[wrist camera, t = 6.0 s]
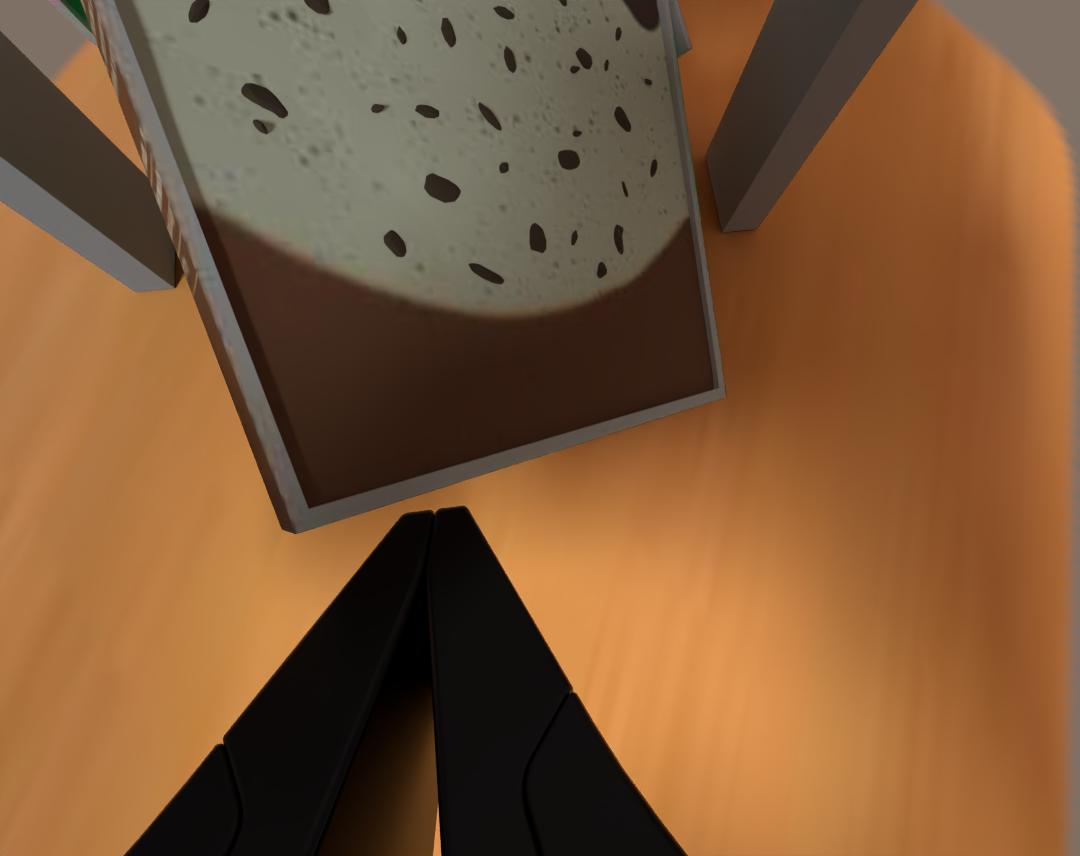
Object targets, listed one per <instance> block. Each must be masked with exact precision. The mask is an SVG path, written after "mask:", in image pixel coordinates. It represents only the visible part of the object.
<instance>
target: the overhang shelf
mask: <svg viewBox="0 0 1080 856" xmlns="http://www.w3.org/2000/svg"><path fill="white" fill-rule="evenodd" d="M917 1H918V0H775V1H774V3H773V5H772V8H771V10H770V12H769V14H768V17H767V19H766V21H765V23H764V26H763V28H762V30H761V32H760V35H759V37H758V39H757V41H756V44H755V46H754V48H753V50H752V52H751V55H750V57H749V59H748V61H747V64H746V66H745V68H744V70H743V73H742V75H741V77H740V79H739V82H738V84H737V86H736V88H735V91H734V93H733V95H732V97H731V100H730V102H729V104H728V106H727V109H726V111H725V113H724V115H723V118H722V120H721V122H720V124H719V126H718V129H717V131H716V133H715V135H714V138H713V140H712V142H711V144H710V147H709V149H708V151H707V153H706V160H707V165H708V169H709V174H710V178H711V183H712V188H713V192H714V197H715V201H716V206H717V210H718V215H719V220H720V224H721V229H722V233H723V232H732V231H742V230H752V229H757V228H758V227H759V225H760V224H761V223H762V221H763V220H764V218H765V217H766V216H767V214H768V213H769V211H770V210H771V208H772V207H773V206H774V204H775V203H776V201H777V200H778V199H779V197H780V196H781V194H782V193H783V191H784V190H785V189H786V187H787V186H788V184H789V183H790V181H791V180H792V179H793V177H794V176H795V174H796V173H797V172H798V170H799V169H800V167H801V166H802V164H803V163H804V162H805V160H806V159H807V157H808V156H809V154H810V153H811V152H812V150H813V149H814V147H815V146H816V145H817V143H818V142H819V140H820V139H821V137H822V136H823V135H824V133H825V132H826V130H827V129H828V128H829V126H830V125H831V123H832V122H833V120H834V119H835V118H836V116H837V115H838V113H839V112H840V110H841V109H842V108H843V106H844V105H845V103H846V102H847V101H848V99H849V98H850V96H851V95H852V93H853V92H854V91H855V89H856V88H857V86H858V85H859V83H860V82H861V81H862V79H863V78H864V76H865V75H866V74H867V72H868V71H869V69H870V68H871V66H872V65H873V64H874V62H875V61H876V59H877V58H878V56H879V55H880V54H881V52H882V51H883V49H884V48H885V47H886V45H887V44H888V42H889V41H890V39H891V38H892V37H893V35H894V34H895V32H896V31H897V30H898V28H899V27H900V25H901V24H902V22H903V21H904V20H905V18H906V17H907V15H908V14H909V12H910V11H911V10H912V8H913V7H914V5H915V4H916V3H917ZM0 201H1V202H3V203H4V204H6V205H7V206H9V207H10V208H11V209H13V210H14V211H16V212H17V213H19V214H20V215H22V216H23V217H25V218H26V219H28V220H29V221H31V222H32V223H34V224H35V225H37V226H38V227H40V228H41V229H43V230H44V231H46V232H47V233H49V234H50V235H52V236H53V237H55V238H56V239H58V240H59V241H61V242H62V243H64V244H65V245H66V246H68V247H69V248H71V249H72V250H74V251H75V252H77V253H78V254H80V255H81V256H83V257H84V258H86V259H87V260H89V261H90V262H92V263H93V264H95V265H96V266H98V267H99V268H101V269H102V270H104V271H105V272H107V273H108V274H110V275H111V276H113V277H114V278H116V279H117V280H119V281H120V282H122V283H123V284H124V285H126V286H127V287H129V288H130V289H132V290H133V291H135V292H143V291H153V290H163V289H172V288H174V283H175V247H174V245H173V242H172V239H171V237H170V234H169V232H168V229H167V226H166V224H165V221H164V218H163V216H162V213H161V211H160V208H159V205H158V203H157V200H156V197H155V195H154V192H153V190H152V187H151V184H150V182H149V179H148V177H147V176H146V175H145V174H144V173H143V172H142V171H141V170H140V169H139V168H138V167H137V166H136V165H134V164H133V163H132V162H131V161H130V160H129V159H128V158H127V157H126V156H125V155H124V154H123V153H122V152H121V151H120V150H119V149H118V148H117V147H116V146H115V145H114V144H113V143H112V142H111V141H110V140H109V139H108V138H107V137H106V136H105V135H104V134H103V133H102V132H101V131H100V130H99V129H98V128H97V127H96V126H95V125H94V124H93V123H92V122H91V121H90V120H89V119H88V118H87V117H86V116H85V115H84V114H83V113H82V112H81V111H80V110H79V109H78V108H77V107H76V106H75V105H74V104H73V103H72V102H71V101H70V100H69V99H68V98H67V97H66V96H65V95H64V94H63V93H62V92H61V91H60V90H59V89H58V88H57V87H56V86H55V85H54V84H53V83H52V82H51V81H50V80H49V79H48V78H47V77H46V76H45V75H44V74H43V73H42V72H41V71H40V70H39V69H38V68H37V67H36V66H35V65H34V64H33V63H32V62H31V61H30V60H29V59H28V58H27V57H26V56H25V55H24V54H23V53H22V52H21V51H20V50H19V49H18V48H17V47H16V46H15V45H14V44H13V43H12V42H11V41H10V40H9V39H8V38H7V37H6V36H5V35H4V34H3V33H2V32H1V31H0Z"/></svg>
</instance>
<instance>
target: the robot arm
mask: <svg viewBox="0 0 1080 856" xmlns="http://www.w3.org/2000/svg"><path fill="white" fill-rule="evenodd" d="M223 743H224V744H217V745H216V746H215V747H214V748H213V750H212V751H211V752H210V753H209V755H208V756H207V757H206V758H205V759H204V761H203V762H202V763H201V764H200V766H199V767H198V768H197V769H196V771H195V772H194V773H193V774H192V776H191V777H190V778H189V779H188V780H187V782H186V783H185V784H184V785H183V786H182V788H181V789H180V790H179V791H178V792H177V794H176V795H175V796H174V797H173V798H172V800H171V801H170V802H169V803H168V804H167V805H166V807H165V808H164V809H163V810H162V811H161V813H160V814H159V815H158V816H157V817H156V819H155V820H154V821H153V822H152V823H151V825H150V826H149V827H148V828H147V829H146V830H145V832H144V833H143V834H142V835H141V836H140V838H139V839H138V840H137V841H136V842H135V843H134V844H133V846H132V847H131V848H130V849H129V850H128V851H127V852H126V853H125V855H124V856H433V849H434V839H435V829H436V818H437V808H438V806H439V823H440V840H441V856H688V855H687V854H686V853H685V851H684V850H683V849H682V847H681V846H680V845H679V844H678V842H677V841H676V840H675V838H674V837H673V836H672V834H671V833H670V832H669V831H668V829H667V828H666V827H665V825H664V824H663V823H662V822H661V820H660V819H659V817H658V816H657V815H656V813H655V812H654V811H653V809H652V808H651V806H650V805H649V804H648V802H647V801H646V799H645V798H644V797H643V795H642V794H641V793H640V791H639V790H638V788H637V787H636V786H635V784H634V783H633V781H632V780H631V779H630V777H629V776H628V775H627V773H626V772H625V770H624V769H623V768H622V766H621V764H620V763H619V761H618V760H617V758H616V757H615V755H614V753H613V752H612V750H611V749H610V747H609V746H608V744H607V742H606V741H605V739H604V738H603V736H602V734H601V733H600V731H599V730H598V728H597V727H596V725H595V723H594V722H593V720H592V718H591V717H590V715H589V713H588V712H587V710H586V708H585V707H584V705H583V703H582V701H581V700H580V698H579V696H578V695H577V693H575V692H573V687H572V685H571V683H570V682H569V680H568V678H567V677H566V675H565V673H564V672H563V670H562V668H561V666H560V665H559V663H558V661H557V660H556V658H555V656H554V654H553V653H552V651H551V649H550V648H549V646H548V644H547V643H546V641H545V639H544V637H543V636H542V634H541V632H540V631H539V629H538V627H537V625H536V624H535V622H534V620H533V619H532V617H531V615H530V614H529V612H528V610H527V608H526V607H525V605H524V603H523V602H522V600H521V598H520V596H519V595H518V593H517V591H516V590H515V588H514V586H513V584H512V583H511V581H510V579H509V578H508V576H507V574H506V573H505V571H504V569H503V567H502V566H501V564H500V562H499V561H498V559H497V557H496V555H495V554H494V552H493V550H492V549H491V547H490V545H489V544H488V542H487V540H486V538H485V537H484V535H483V533H482V532H481V530H480V528H479V526H478V525H477V523H476V521H475V520H474V518H473V516H472V515H471V513H470V511H469V510H468V508H467V507H465V506H458V507H450V508H442V509H439V510H438V511H436V513H434V511H432V510H426V511H418V512H410V513H406V514H404V515H402V516H401V517H400V518H399V520H398V521H397V522H396V523H395V525H394V526H393V527H392V528H391V529H390V531H389V532H388V533H387V534H386V536H385V537H384V538H383V539H382V541H381V542H380V543H379V544H378V546H377V547H376V548H375V549H374V551H373V552H372V553H371V554H370V556H369V557H368V558H367V559H366V560H365V562H364V563H363V564H362V565H361V567H360V568H359V569H358V570H357V572H356V573H355V574H354V575H353V577H352V578H351V579H350V580H349V582H348V583H347V584H346V585H345V586H344V588H343V589H342V590H341V591H340V593H339V594H338V595H337V596H336V598H335V599H334V600H333V601H332V603H331V604H330V605H329V606H328V608H327V609H326V610H325V611H324V612H323V614H322V615H321V616H320V617H319V619H318V620H317V621H316V622H315V624H314V625H313V626H312V627H311V629H310V630H309V631H308V632H307V634H306V635H305V636H304V637H303V639H302V640H301V641H300V642H299V643H298V645H297V646H296V647H295V648H294V650H293V651H292V652H291V653H290V655H289V656H288V657H287V658H286V660H285V661H284V662H283V663H282V665H281V666H280V667H279V668H278V669H277V671H276V672H275V673H274V674H273V676H272V677H271V678H270V679H269V681H268V682H267V683H266V684H265V686H264V687H263V688H262V689H261V691H260V692H259V693H258V694H257V695H256V697H255V698H254V699H253V700H252V702H251V703H250V704H249V705H248V707H247V708H246V709H245V710H244V712H243V713H242V714H241V715H240V717H239V718H238V719H237V720H236V722H235V723H234V724H233V725H232V726H231V728H230V729H229V730H228V731H227V733H226V734H225V735H224V737H223Z"/></svg>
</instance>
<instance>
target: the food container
mask: <svg viewBox="0 0 1080 856" xmlns="http://www.w3.org/2000/svg"><path fill="white" fill-rule="evenodd" d="M49 1H50V2H51V3H52V4H53V5H54V6H55V7H56V8H57V9H58V10H59V11H60V12H61V13H62V14H63V15H64V16H65V17H66V18H67V19H68V20H69V22H70V23H71V24H72V25H73V26H75V27H76V29H77V30H78V31H79V32H80V33H81V34H82V35H84V36H85V37H86V38H88V39H89V40H90V41H91V42H93V43H94V44H95V45H97V46H98V48H99V50H100V53H101V56H102V58H103V61H104V64H105V66H106V69H107V71H108V74H109V77H110V79H111V82H112V85H113V87H114V90H115V92H116V95H117V98H118V100H119V103H120V106H121V108H122V111H123V113H124V116H125V119H126V121H127V124H128V127H129V129H130V132H131V134H132V137H133V140H134V142H135V145H136V148H137V150H138V153H139V155H140V158H141V161H142V163H143V166H144V169H145V171H146V174H147V176H148V179H149V182H150V184H151V187H152V190H153V192H154V195H155V197H156V200H157V203H158V205H159V208H160V211H161V213H162V216H163V218H164V221H165V224H166V226H167V229H168V232H169V234H170V237H171V239H172V242H173V245H174V247H175V250H176V253H177V255H178V258H179V260H180V263H181V266H182V268H183V271H184V274H185V276H186V279H187V281H188V284H189V287H190V289H191V292H192V295H193V297H194V300H195V302H196V305H197V308H198V310H199V313H200V316H201V318H202V321H203V323H204V326H205V329H206V331H207V334H208V337H209V339H210V342H211V344H212V347H213V350H214V352H215V355H216V358H217V360H218V363H219V365H220V368H221V371H222V373H223V376H224V379H225V381H226V384H227V386H228V389H229V392H230V394H231V397H232V400H233V402H234V405H235V407H236V410H237V413H238V415H239V418H240V421H241V423H242V426H243V428H244V431H245V434H246V436H247V439H248V442H249V444H250V447H251V449H252V452H253V455H254V457H255V460H256V463H257V465H258V468H259V470H260V473H261V476H262V478H263V481H264V484H265V486H266V489H267V491H268V494H269V497H270V499H271V502H272V505H273V507H274V510H275V512H276V515H277V518H278V520H279V523H280V526H281V528H282V530H285V531H288V532H291V533H294V534H298V533H301V532H304V531H308V530H311V529H314V528H317V527H320V526H323V525H326V524H329V523H333V522H336V521H339V520H342V519H345V518H348V517H351V516H355V515H358V514H361V513H364V512H367V511H370V510H373V509H377V508H380V507H383V506H386V505H389V504H392V503H395V502H399V501H402V500H405V499H408V498H411V497H414V496H417V495H421V494H424V493H427V492H430V491H433V490H436V489H439V488H442V487H446V486H449V485H452V484H455V483H458V482H461V481H464V480H468V479H471V478H474V477H477V476H480V475H483V474H486V473H490V472H493V471H496V470H499V469H502V468H505V467H508V466H512V465H515V464H518V463H521V462H524V461H527V460H530V459H534V458H537V457H540V456H543V455H546V454H549V453H552V452H556V451H559V450H562V449H565V448H568V447H571V446H574V445H577V444H581V443H584V442H587V441H590V440H593V439H596V438H599V437H603V436H606V435H609V434H612V433H615V432H618V431H621V430H625V429H628V428H631V427H634V426H637V425H640V424H643V423H647V422H650V421H653V420H656V419H659V418H662V417H665V416H669V415H672V414H675V413H678V412H681V411H684V410H687V409H690V408H694V407H697V406H700V405H703V404H706V403H709V402H712V401H716V400H719V399H722V398H725V397H727V396H726V389H725V382H724V375H723V368H722V361H721V355H720V348H719V341H718V334H717V327H716V320H715V314H714V307H713V300H712V293H711V286H710V279H709V273H708V266H707V259H706V252H705V245H704V238H703V232H702V225H701V218H700V211H699V204H698V197H697V191H696V184H695V177H694V170H693V163H692V156H691V150H690V143H689V136H688V129H687V122H686V116H685V109H684V102H683V95H682V88H681V81H680V75H679V68H678V61H677V58H678V57H680V56H681V55H683V54H684V53H686V52H687V51H689V50H690V49H692V46H691V43H690V40H689V37H688V33H687V30H686V27H685V23H684V20H683V17H682V14H681V10H680V7H679V4H678V1H677V0H49Z"/></svg>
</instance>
